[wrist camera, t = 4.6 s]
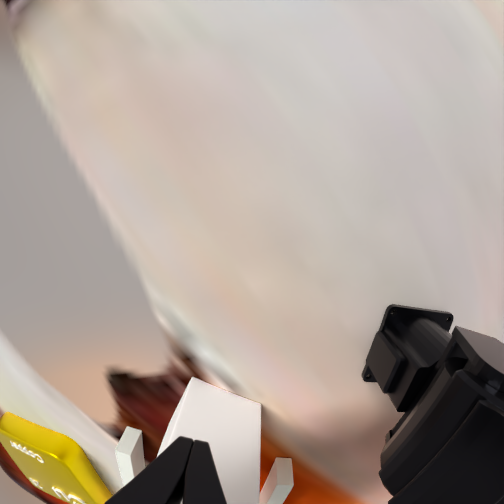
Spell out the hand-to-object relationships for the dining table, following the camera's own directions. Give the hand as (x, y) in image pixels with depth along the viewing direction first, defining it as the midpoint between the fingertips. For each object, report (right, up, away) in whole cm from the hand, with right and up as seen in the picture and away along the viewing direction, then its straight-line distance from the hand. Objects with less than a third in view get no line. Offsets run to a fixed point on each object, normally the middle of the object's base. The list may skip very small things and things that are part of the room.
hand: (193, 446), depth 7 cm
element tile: (-26, -24, +20) cm, 40 cm away
